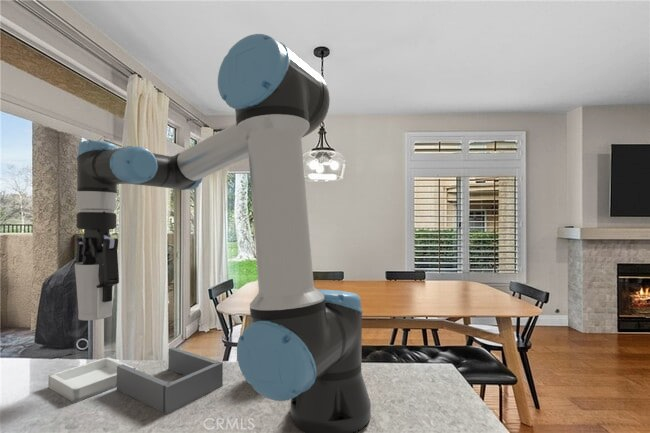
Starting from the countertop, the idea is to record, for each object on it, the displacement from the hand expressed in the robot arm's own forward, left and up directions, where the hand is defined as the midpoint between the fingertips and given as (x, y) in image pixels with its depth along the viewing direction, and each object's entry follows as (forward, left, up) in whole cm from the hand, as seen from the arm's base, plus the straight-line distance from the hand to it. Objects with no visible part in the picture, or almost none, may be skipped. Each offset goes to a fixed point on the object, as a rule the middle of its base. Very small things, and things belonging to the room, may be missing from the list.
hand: (95, 313), depth 78 cm
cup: (0, 0, -1) cm, 1 cm away
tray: (0, 0, -15) cm, 15 cm away
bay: (-16, -8, -15) cm, 24 cm away
